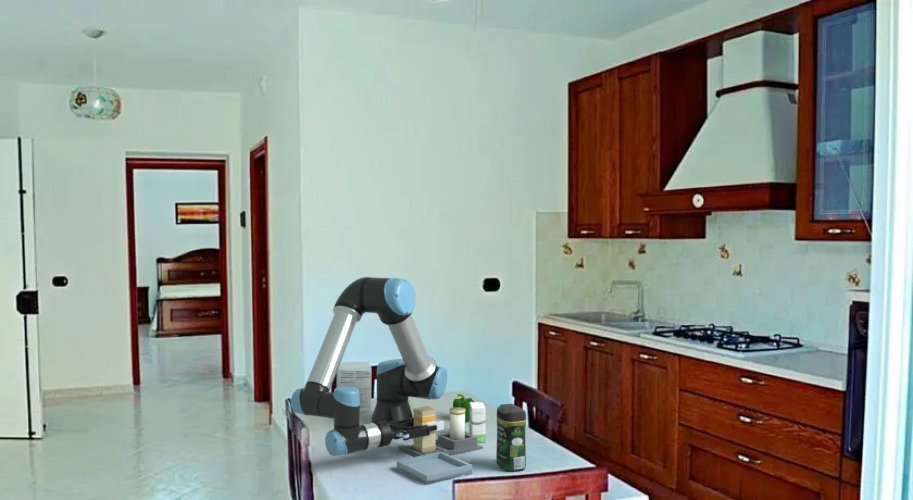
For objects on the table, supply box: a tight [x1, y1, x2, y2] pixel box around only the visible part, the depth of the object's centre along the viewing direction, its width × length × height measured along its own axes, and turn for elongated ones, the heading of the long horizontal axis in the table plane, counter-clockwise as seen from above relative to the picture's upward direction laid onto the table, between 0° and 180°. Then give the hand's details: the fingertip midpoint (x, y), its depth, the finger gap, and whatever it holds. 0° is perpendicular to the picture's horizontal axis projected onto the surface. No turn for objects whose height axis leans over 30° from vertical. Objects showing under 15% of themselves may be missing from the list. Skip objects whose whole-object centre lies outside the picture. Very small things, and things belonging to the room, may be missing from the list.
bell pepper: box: [452, 393, 475, 422], centre depth 268 cm, size 8×8×10 cm
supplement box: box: [336, 361, 372, 413], centre depth 285 cm, size 13×13×18 cm
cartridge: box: [449, 407, 466, 440], centre depth 236 cm, size 5×5×12 cm
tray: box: [396, 452, 473, 486], centre depth 210 cm, size 16×16×2 cm
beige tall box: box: [412, 405, 437, 454], centre depth 228 cm, size 5×5×13 cm
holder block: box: [398, 432, 484, 457], centre depth 232 cm, size 15×22×3 cm
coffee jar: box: [495, 403, 527, 472], centre depth 214 cm, size 10×8×19 cm
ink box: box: [468, 401, 487, 443], centre depth 243 cm, size 9×5×12 cm, turn 5°
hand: (438, 423), depth 231 cm, fingers closed on beige tall box, 5 cm apart
